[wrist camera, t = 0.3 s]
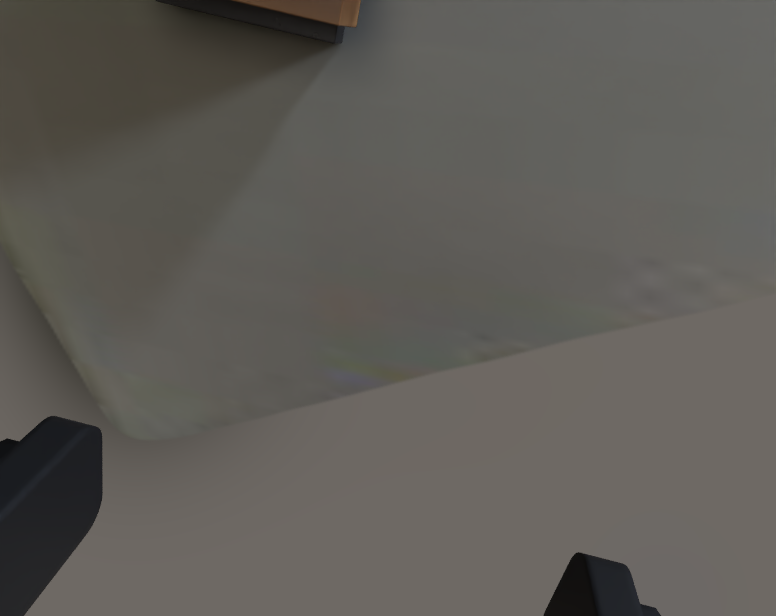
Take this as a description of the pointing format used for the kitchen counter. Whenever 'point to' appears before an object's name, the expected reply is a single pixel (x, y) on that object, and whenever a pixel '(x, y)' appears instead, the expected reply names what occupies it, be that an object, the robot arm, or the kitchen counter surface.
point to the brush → (285, 14)
